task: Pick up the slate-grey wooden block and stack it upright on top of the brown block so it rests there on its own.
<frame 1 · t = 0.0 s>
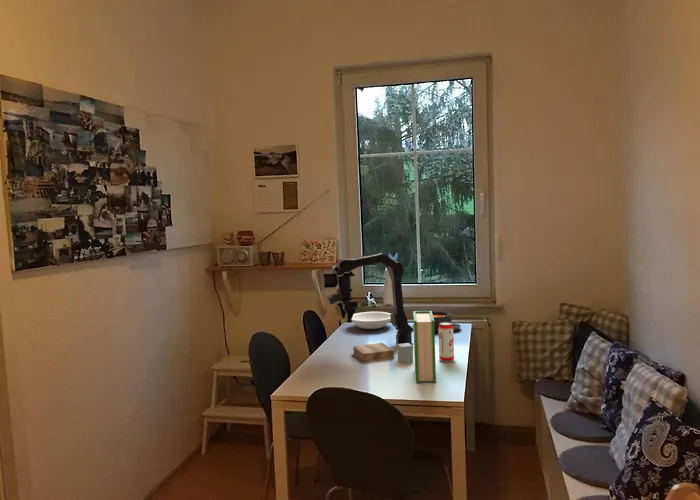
hand: (346, 320, 260), 15 cm above the table, tool pointing down, fingers open, 9 cm apart
casserole: (436, 330, 296), on the table
brown block: (373, 356, 253), on the table
beer can: (446, 360, 241), on the table
soup bowl: (371, 328, 306), on the table
hardback book: (425, 376, 222), on the table
grey block: (405, 360, 243), on the table
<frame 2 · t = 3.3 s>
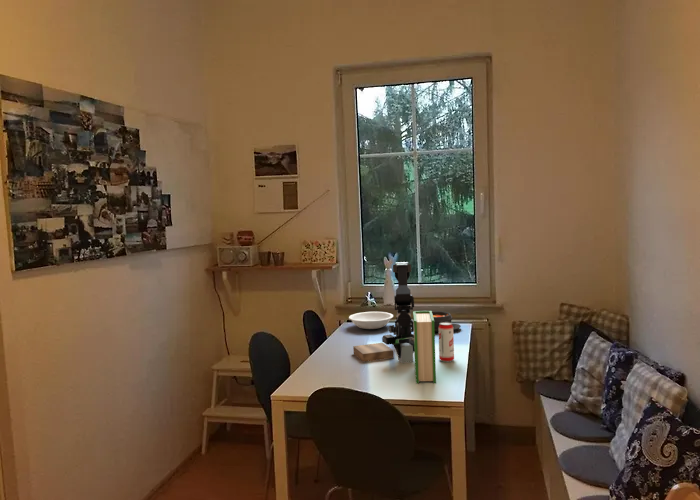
hand: (405, 357, 243), 2 cm above the table, tool pointing down, fingers closed on grey block, 5 cm apart
grey block: (405, 360, 243), on the table, touching gripper
everything else where it was.
when the fingers open (7 cm above the table, at t = 7.4 s): grey block drops 2 cm, point 3 cm above the table.
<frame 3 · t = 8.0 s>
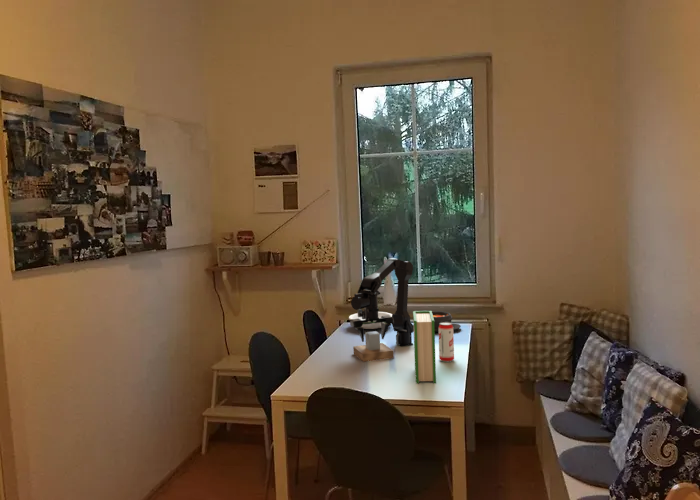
hand: (372, 340, 252), 7 cm above the table, tool pointing down, fingers open, 9 cm apart
grey block: (373, 348, 252), point 3 cm above the table
everything else where it was.
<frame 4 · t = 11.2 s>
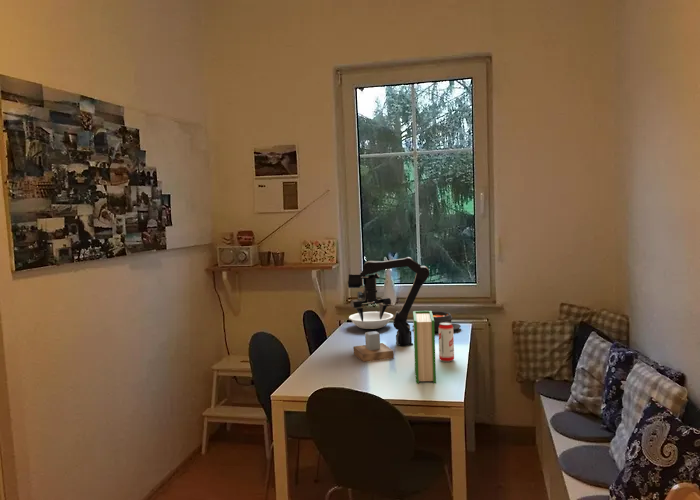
hand: (371, 320, 270), 12 cm above the table, tool pointing down, fingers open, 9 cm apart
brown block: (373, 357, 253), on the table, touching grey block
grey block: (373, 348, 252), point 3 cm above the table, touching brown block
everything else where it was.
at the end: grey block inside the target area on the brown block (0.0 cm from its centre), point 4.0 cm above the brown block's base; grey block tilted 0°; grey block touching nothing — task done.
